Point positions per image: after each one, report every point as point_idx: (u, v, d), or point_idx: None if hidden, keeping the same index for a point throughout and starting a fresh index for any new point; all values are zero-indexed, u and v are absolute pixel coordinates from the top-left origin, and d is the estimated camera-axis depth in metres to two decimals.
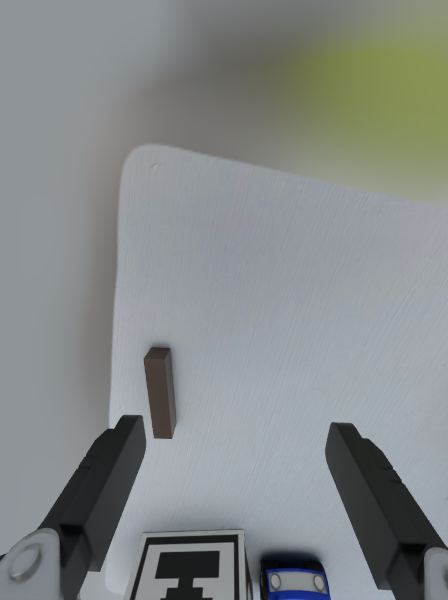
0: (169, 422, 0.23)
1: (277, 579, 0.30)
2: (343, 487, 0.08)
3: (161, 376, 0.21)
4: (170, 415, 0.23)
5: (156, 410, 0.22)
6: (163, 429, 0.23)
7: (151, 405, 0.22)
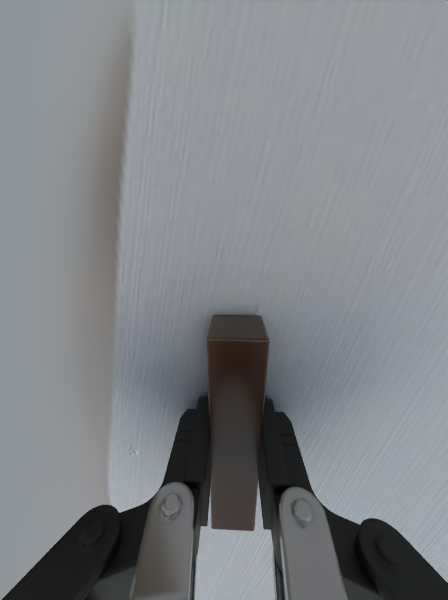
0: (254, 498, 0.09)
1: None
2: None
3: (252, 389, 0.07)
4: None
5: (226, 472, 0.09)
6: (237, 512, 0.10)
7: (215, 461, 0.09)
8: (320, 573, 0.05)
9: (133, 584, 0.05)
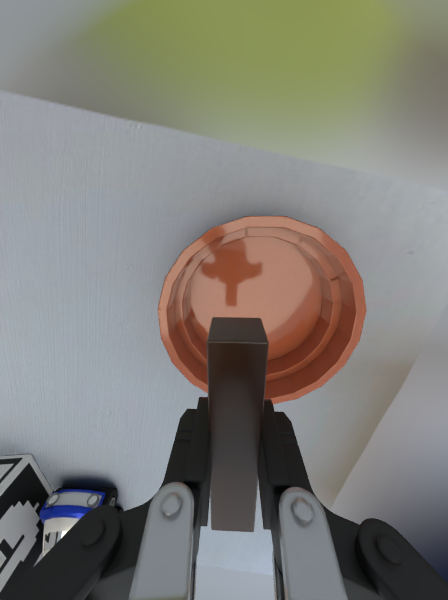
0: (254, 499, 0.09)
1: (56, 498, 0.32)
2: None
3: (252, 391, 0.07)
4: None
5: (226, 474, 0.09)
6: (237, 513, 0.10)
7: (215, 462, 0.09)
8: (320, 573, 0.05)
9: (133, 584, 0.05)
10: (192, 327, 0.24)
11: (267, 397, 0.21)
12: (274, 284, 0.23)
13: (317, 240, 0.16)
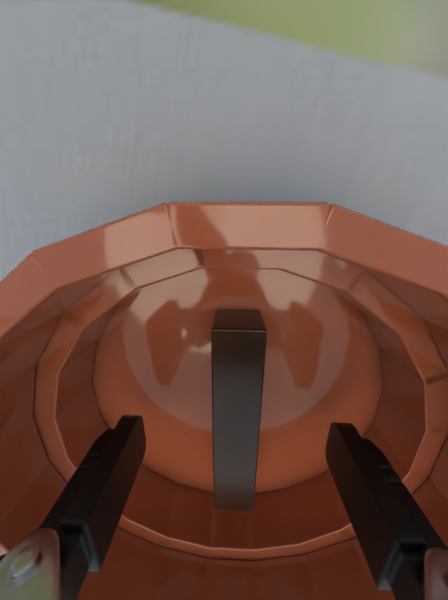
0: (253, 479, 0.10)
1: None
2: (343, 487, 0.08)
3: (252, 375, 0.08)
4: None
5: (228, 454, 0.10)
6: (237, 493, 0.10)
7: (217, 443, 0.09)
8: None
9: None
10: None
11: None
12: (277, 362, 0.10)
13: None
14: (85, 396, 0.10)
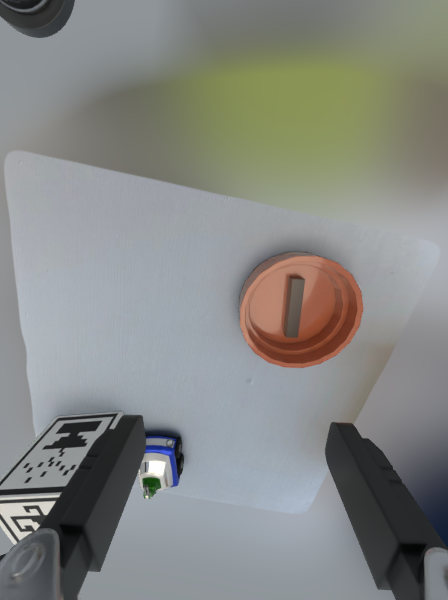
0: (298, 325, 0.35)
1: None
2: (343, 487, 0.08)
3: (300, 291, 0.33)
4: None
5: (292, 316, 0.35)
6: (293, 330, 0.36)
7: (289, 312, 0.35)
8: None
9: None
10: (250, 319, 0.37)
11: (301, 363, 0.34)
12: (305, 292, 0.35)
13: (336, 269, 0.29)
14: None
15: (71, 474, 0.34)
